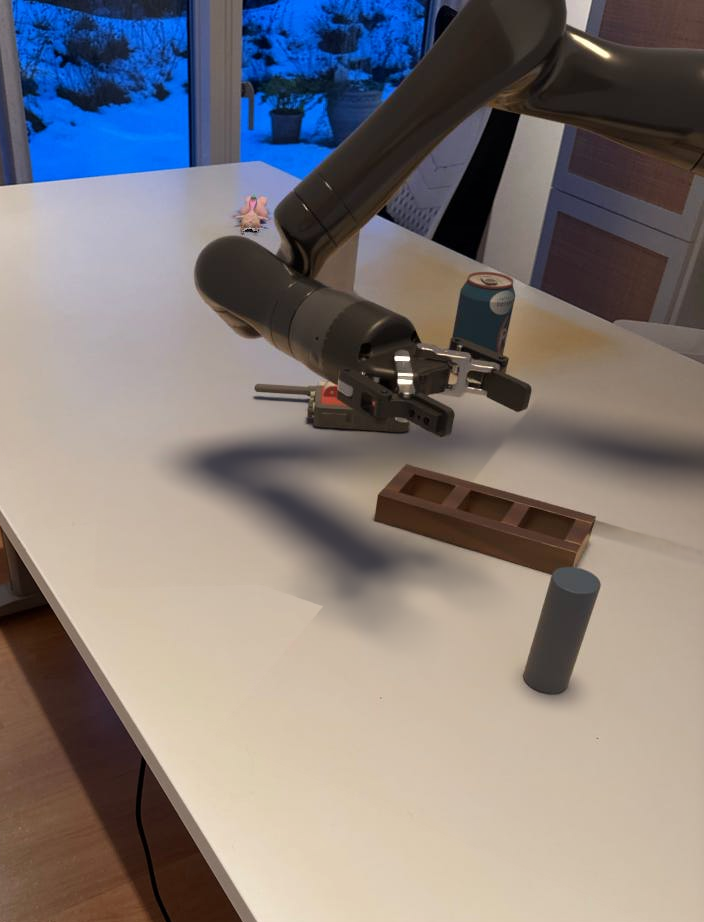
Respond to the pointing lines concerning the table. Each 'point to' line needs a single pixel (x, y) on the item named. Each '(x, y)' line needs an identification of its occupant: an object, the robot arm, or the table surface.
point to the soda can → (485, 310)
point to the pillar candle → (341, 267)
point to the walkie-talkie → (332, 408)
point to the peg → (561, 629)
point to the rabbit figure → (253, 212)
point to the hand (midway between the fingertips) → (489, 412)
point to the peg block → (485, 519)
